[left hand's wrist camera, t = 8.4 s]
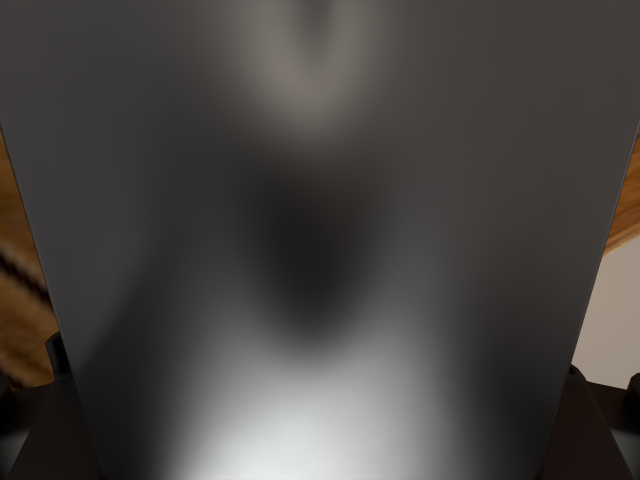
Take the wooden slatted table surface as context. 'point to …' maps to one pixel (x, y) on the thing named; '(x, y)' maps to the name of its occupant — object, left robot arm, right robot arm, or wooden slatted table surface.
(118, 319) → the box
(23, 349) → the wooden slatted table surface
